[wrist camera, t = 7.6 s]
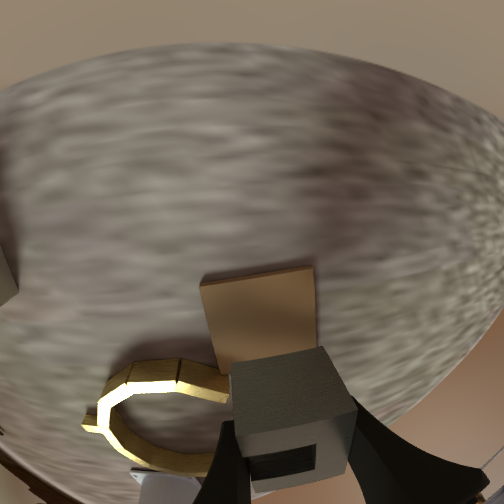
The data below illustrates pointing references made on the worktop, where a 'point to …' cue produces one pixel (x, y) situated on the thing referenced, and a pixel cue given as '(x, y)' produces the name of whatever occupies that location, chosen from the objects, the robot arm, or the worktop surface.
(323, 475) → the c link
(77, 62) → the worktop surface
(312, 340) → the coaster
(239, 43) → the worktop surface
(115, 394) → the c ring
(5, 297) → the lighter
